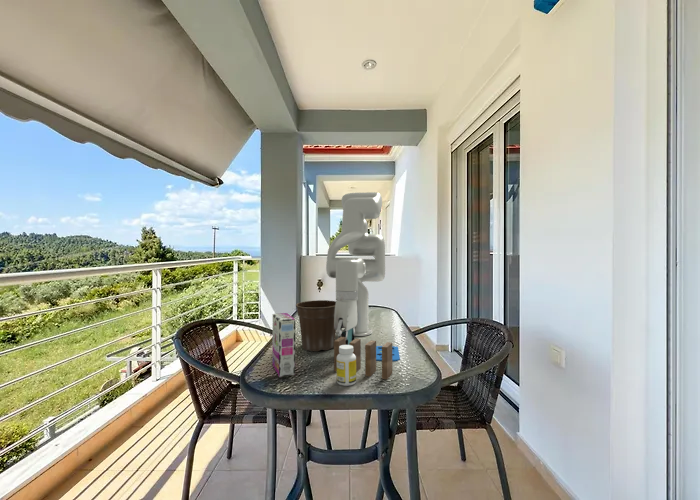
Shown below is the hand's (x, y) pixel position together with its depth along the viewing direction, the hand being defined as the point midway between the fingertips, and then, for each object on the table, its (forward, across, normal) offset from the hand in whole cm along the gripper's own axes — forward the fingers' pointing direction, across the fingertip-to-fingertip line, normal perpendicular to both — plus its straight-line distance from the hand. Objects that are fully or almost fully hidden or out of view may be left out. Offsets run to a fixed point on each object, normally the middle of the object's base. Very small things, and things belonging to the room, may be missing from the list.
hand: (347, 348), depth 115 cm
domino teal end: (+2, 0, 0) cm, 2 cm away
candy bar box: (+3, +20, -12) cm, 23 cm away
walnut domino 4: (+2, +12, +18) cm, 22 cm away
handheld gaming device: (+3, -7, +12) cm, 14 cm away
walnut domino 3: (+2, +12, +13) cm, 18 cm away
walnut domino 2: (+2, +12, +8) cm, 15 cm away
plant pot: (+3, -5, -14) cm, 15 cm away
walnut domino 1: (+2, +12, +3) cm, 13 cm away
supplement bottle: (+3, +21, +9) cm, 23 cm away
